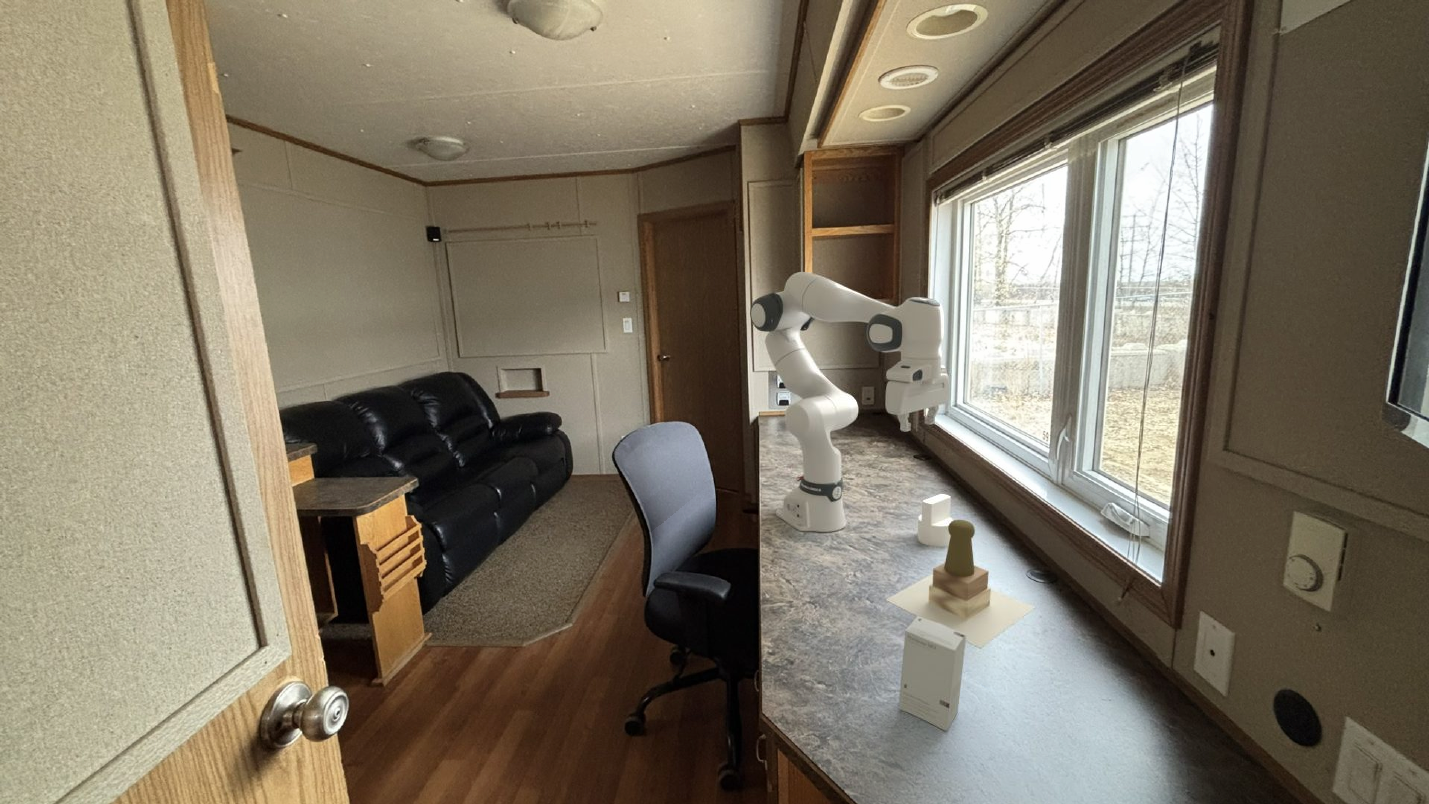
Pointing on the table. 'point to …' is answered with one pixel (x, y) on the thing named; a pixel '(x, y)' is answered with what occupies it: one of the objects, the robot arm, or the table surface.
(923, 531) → the cylinder with rectangular tab
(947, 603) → the bottom block
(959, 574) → the olive rounded upright piece
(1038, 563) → the table surface
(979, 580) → the top block
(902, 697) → the skincare box
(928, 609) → the felt mat
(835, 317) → the robot arm
